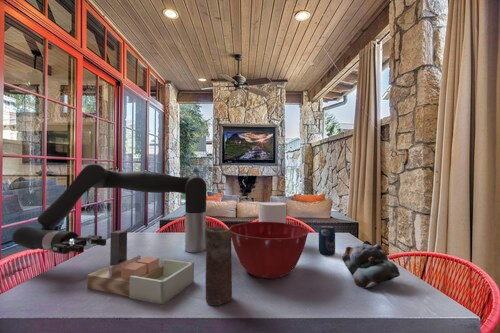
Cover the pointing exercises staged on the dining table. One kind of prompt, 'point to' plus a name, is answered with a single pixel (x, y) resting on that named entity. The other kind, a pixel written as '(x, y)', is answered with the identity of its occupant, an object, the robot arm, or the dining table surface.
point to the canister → (272, 212)
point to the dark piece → (119, 253)
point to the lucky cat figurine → (369, 265)
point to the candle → (218, 265)
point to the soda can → (326, 240)
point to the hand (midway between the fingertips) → (94, 245)
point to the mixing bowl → (268, 247)
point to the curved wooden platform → (116, 281)
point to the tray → (163, 282)
